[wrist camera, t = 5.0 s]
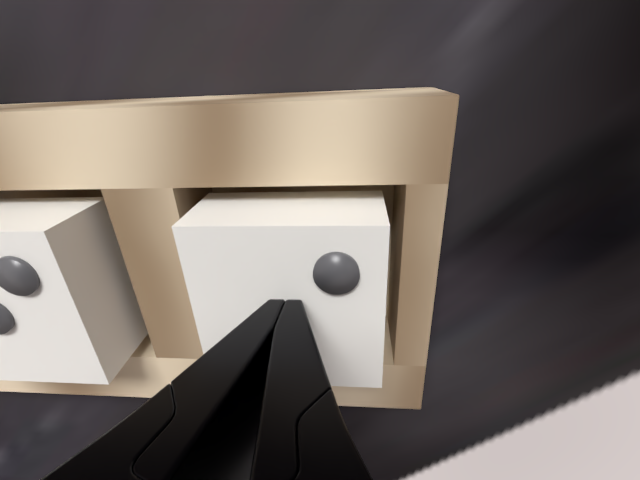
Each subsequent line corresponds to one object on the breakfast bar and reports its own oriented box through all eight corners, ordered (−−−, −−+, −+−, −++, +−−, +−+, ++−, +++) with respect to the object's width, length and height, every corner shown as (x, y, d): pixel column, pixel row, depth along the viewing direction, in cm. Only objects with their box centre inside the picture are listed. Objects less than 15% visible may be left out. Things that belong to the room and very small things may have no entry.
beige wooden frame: (431, 86, 10) (459, 95, 8) (408, 346, 15) (420, 409, 12) (-258, 114, 13) (-423, 128, 10) (-100, 332, 17) (-184, 383, 14)
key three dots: (107, 197, 10) (39, 233, 8) (150, 330, 13) (106, 388, 10) (-46, 199, 11) (-151, 234, 9) (22, 327, 13) (-48, 382, 11)
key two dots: (382, 190, 10) (390, 228, 8) (376, 330, 12) (382, 391, 10) (209, 192, 10) (168, 229, 8) (234, 327, 13) (208, 385, 10)
